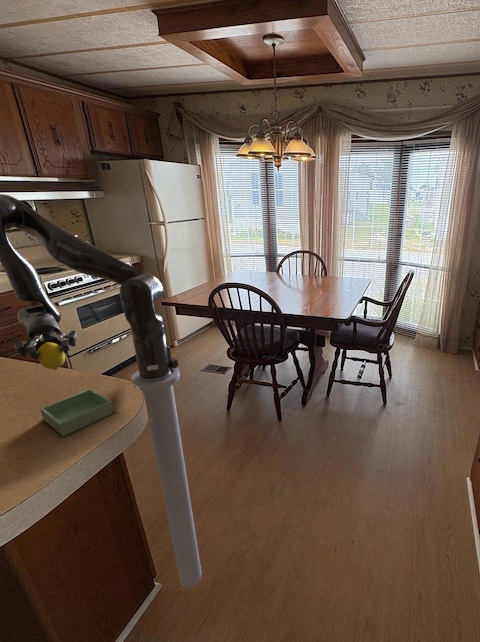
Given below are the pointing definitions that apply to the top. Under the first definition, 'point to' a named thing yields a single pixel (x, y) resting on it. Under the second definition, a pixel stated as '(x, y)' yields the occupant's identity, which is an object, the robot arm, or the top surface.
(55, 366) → the lemon
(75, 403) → the bin
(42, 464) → the top surface
